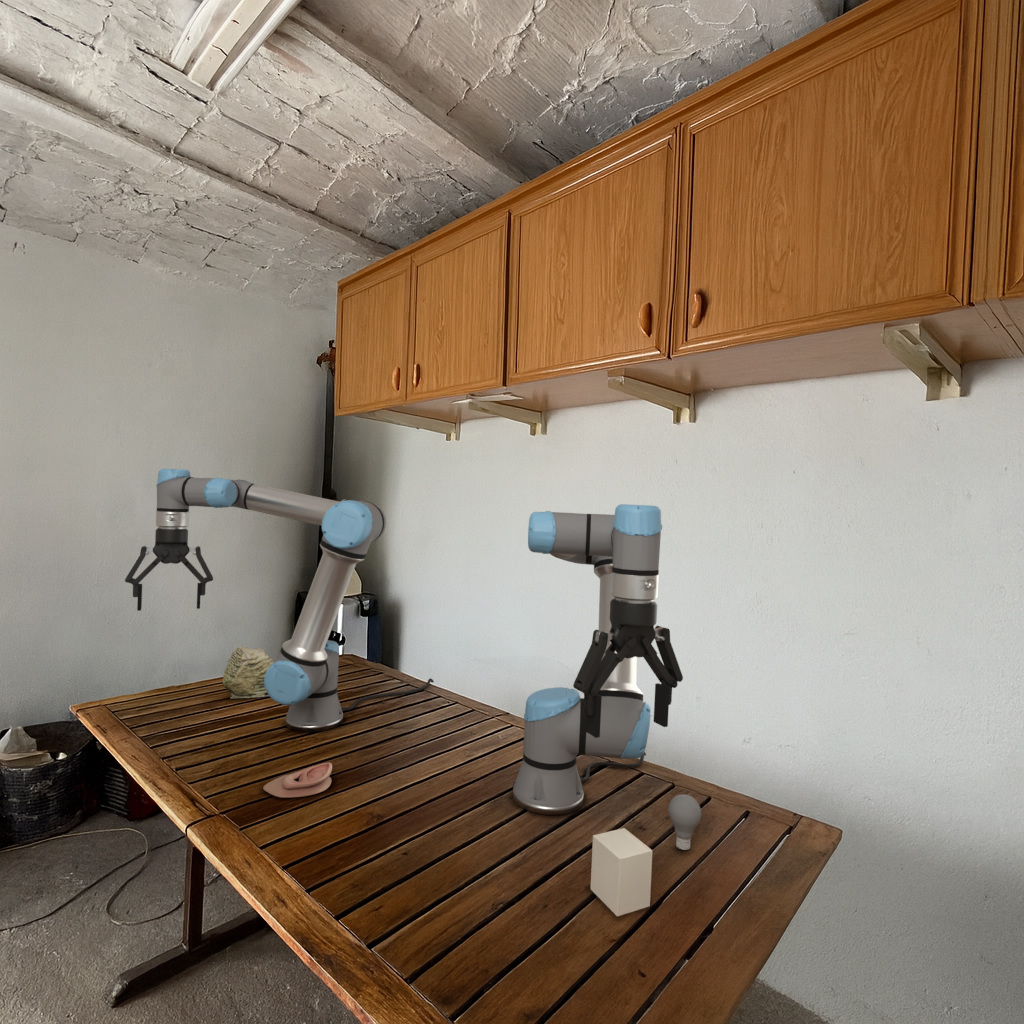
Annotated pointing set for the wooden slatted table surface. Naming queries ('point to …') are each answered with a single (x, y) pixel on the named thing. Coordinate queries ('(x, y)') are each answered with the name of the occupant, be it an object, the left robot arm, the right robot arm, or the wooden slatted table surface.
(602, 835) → the block
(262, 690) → the fossil
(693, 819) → the light bulb
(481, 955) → the wooden slatted table surface
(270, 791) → the anatomical model
